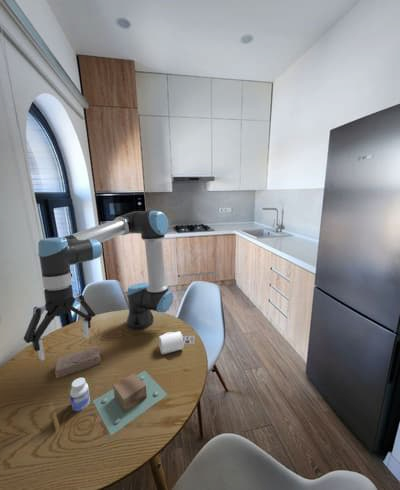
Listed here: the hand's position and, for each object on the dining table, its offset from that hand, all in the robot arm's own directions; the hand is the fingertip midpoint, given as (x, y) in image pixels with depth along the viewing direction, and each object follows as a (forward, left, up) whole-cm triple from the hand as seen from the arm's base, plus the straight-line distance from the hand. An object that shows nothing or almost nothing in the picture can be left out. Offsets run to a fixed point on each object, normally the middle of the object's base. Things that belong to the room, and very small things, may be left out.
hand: (65, 347), depth 72 cm
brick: (-7, -18, -22) cm, 29 cm away
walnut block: (-15, +14, -20) cm, 28 cm away
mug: (-42, 0, -21) cm, 47 cm away
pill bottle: (-1, +5, -21) cm, 22 cm away
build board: (-15, +14, -21) cm, 29 cm away
